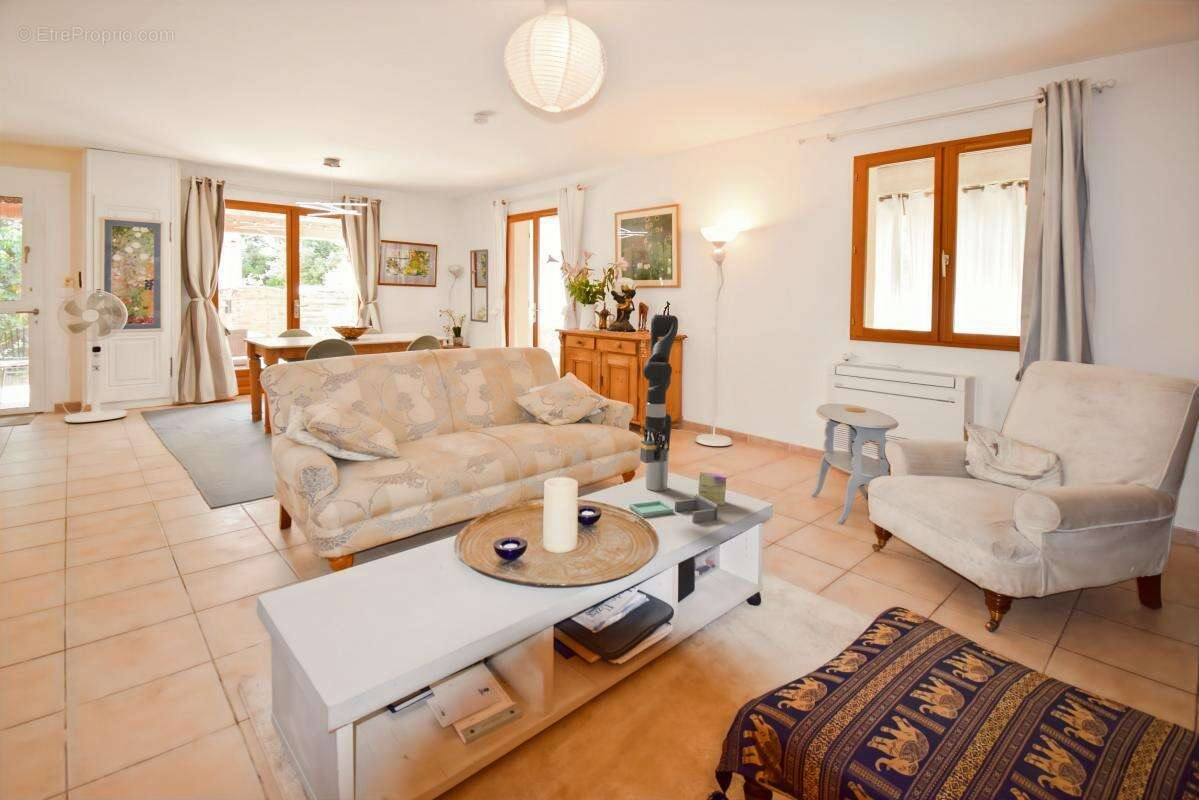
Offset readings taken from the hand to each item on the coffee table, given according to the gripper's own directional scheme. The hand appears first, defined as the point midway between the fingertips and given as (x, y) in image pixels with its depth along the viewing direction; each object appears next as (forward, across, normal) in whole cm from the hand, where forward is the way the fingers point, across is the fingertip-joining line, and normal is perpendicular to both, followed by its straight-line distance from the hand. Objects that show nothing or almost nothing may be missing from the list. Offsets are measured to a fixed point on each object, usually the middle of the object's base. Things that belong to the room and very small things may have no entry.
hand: (653, 458), depth 227 cm
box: (+21, +1, -28) cm, 36 cm away
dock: (+21, -10, -14) cm, 27 cm away
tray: (+21, 0, 0) cm, 21 cm away
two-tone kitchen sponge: (+1, 0, 0) cm, 1 cm away
